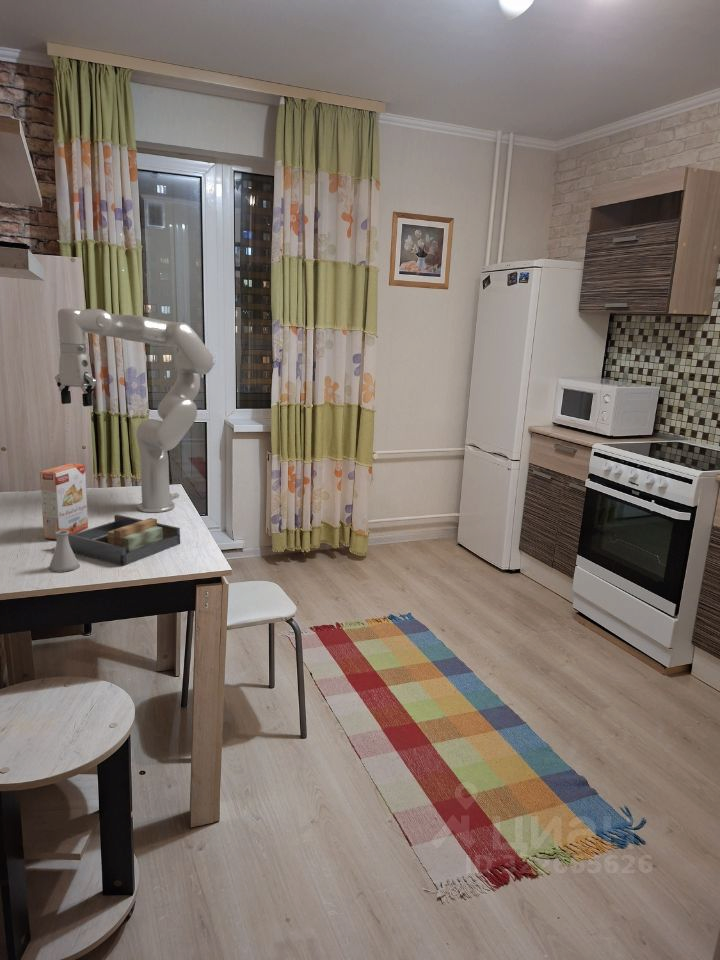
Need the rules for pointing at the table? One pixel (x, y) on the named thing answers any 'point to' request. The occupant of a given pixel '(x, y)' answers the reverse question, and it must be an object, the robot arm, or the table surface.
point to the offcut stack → (136, 534)
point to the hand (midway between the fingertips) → (77, 404)
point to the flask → (63, 554)
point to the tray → (114, 553)
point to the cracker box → (64, 499)
